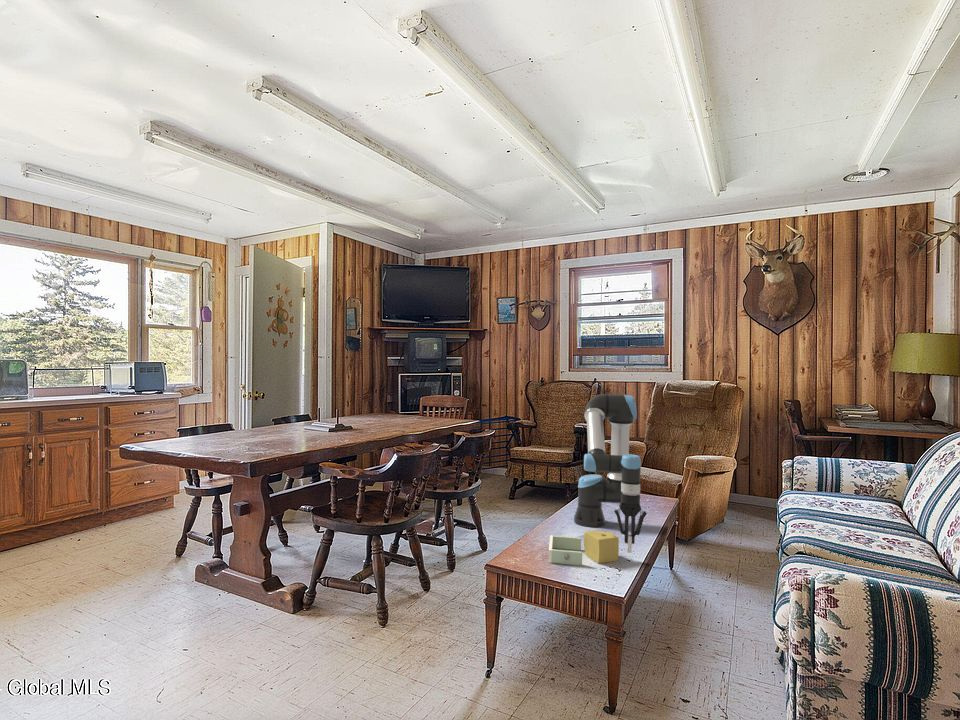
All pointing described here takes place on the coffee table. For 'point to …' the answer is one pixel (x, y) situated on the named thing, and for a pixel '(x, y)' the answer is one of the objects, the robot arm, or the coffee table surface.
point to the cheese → (601, 546)
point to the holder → (565, 555)
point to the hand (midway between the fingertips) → (629, 551)
